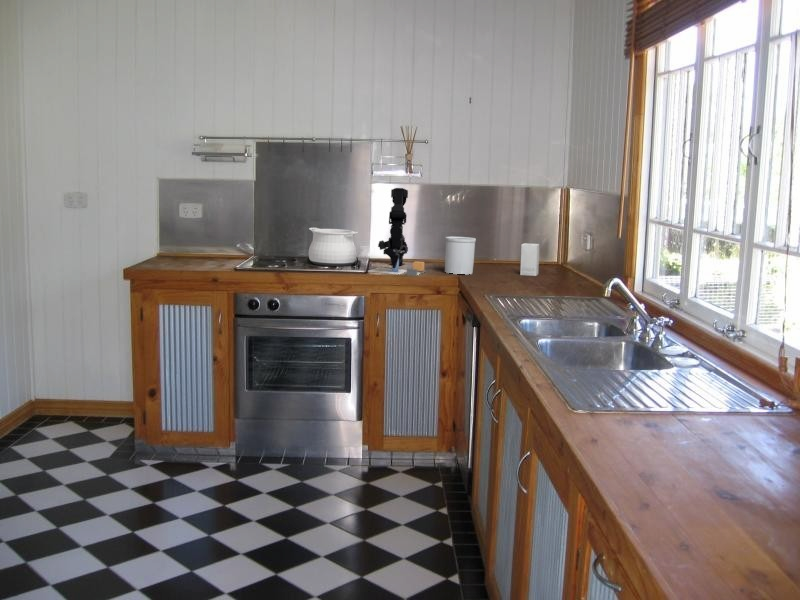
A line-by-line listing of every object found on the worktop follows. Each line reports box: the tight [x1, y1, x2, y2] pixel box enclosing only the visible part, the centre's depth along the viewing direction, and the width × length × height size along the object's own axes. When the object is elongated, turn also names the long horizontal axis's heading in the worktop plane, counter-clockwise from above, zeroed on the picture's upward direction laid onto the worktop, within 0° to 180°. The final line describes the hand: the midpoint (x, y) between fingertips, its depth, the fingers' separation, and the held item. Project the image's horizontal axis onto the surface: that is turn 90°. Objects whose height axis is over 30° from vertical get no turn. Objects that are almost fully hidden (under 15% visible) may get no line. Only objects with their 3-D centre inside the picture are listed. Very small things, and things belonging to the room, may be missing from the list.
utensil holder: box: [444, 236, 477, 276], centre depth 435 cm, size 15×15×18 cm
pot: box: [308, 227, 359, 267], centre depth 449 cm, size 28×24×17 cm
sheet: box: [367, 267, 407, 275], centre depth 431 cm, size 15×16×1 cm
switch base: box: [406, 268, 427, 277], centre depth 427 cm, size 14×5×3 cm, turn 160°
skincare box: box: [519, 242, 540, 277], centre depth 439 cm, size 8×7×16 cm
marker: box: [391, 259, 400, 272], centre depth 427 cm, size 3×3×8 cm
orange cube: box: [412, 260, 425, 271], centre depth 430 cm, size 4×4×4 cm
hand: (395, 267), depth 427 cm, fingers closed on marker, 3 cm apart
